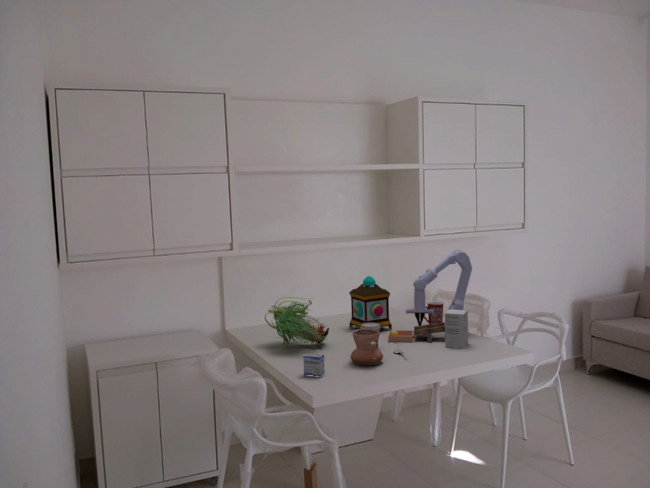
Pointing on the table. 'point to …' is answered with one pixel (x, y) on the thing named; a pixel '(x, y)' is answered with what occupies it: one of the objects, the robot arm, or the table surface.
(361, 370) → the table surface
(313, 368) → the medicine box
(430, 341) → the seesaw stand
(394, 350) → the spoon
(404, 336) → the tray
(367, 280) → the decorative lantern
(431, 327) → the brown wooden tray
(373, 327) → the disposable coffee cup
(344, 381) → the table surface
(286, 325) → the plant
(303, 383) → the table surface
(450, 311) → the supplement box
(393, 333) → the ball
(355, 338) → the ceramic jug
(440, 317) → the mug
